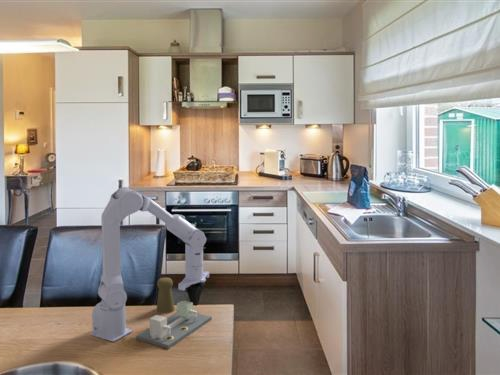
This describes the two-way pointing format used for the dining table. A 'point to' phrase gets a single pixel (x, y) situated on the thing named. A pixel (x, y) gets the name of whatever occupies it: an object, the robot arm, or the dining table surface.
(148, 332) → the plate
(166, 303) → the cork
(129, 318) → the dining table surface
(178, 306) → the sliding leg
